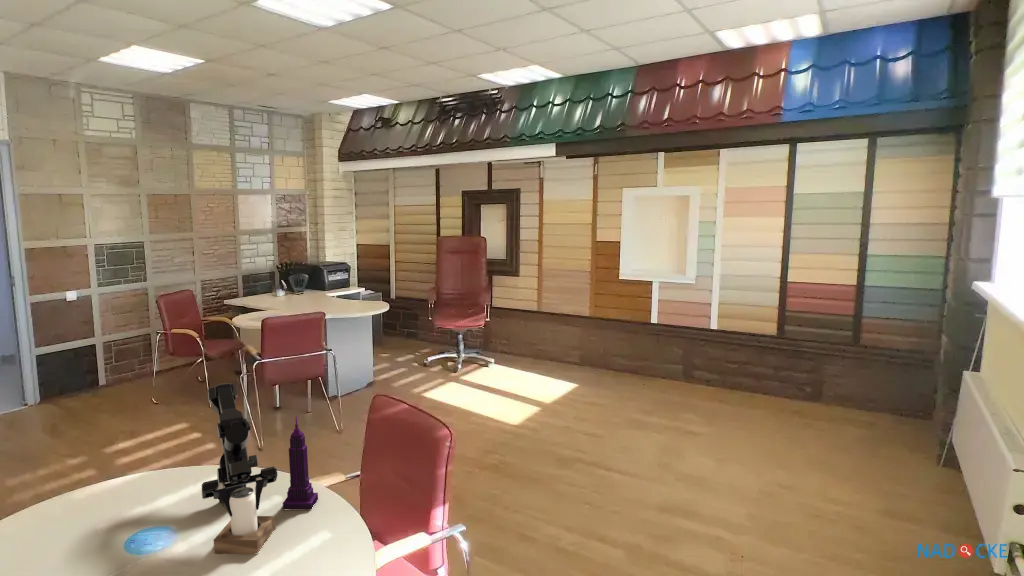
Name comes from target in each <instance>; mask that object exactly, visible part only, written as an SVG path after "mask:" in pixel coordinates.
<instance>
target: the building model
mask: <svg viewBox="0 0 1024 576" xmlns="http://www.w3.org/2000/svg"><path fill="white" fill-rule="evenodd" d="M294 427H295V428H294V429H293V432H292V433H291V434H290V438H289V448H288V459H289V460H288V461H289V483H290V484H289V487H288V489H287V492H286V494H287V495H286V498H285V499H284V501H283V502H282V510H283V509H312V507H313V505H314V504H315V503H317V502H318V501H319V493H318V492H314V487H313V486H312V484H313V483H312V482H310V477H309V460H308V459H309V457H308V445H307V444H306V438H305V436H306V435H304V432H303V431H302V430H301V428H299V424H298V418H297V417H295V425H294ZM317 500H318V501H317ZM315 505H316V504H315ZM315 505H314V506H315ZM313 508H314V507H313ZM312 510H313V509H312Z"/></svg>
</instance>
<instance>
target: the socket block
mask: <svg viewBox="0 0 1024 576" xmlns="http://www.w3.org/2000/svg"><path fill="white" fill-rule="evenodd" d="M257 523H258V529H257V531H256V532H252V533H250V534H247V535H246V536H240V535H232V531H231V519H230V520H229V521H228V523H227V524H226V525H225V526H224V527H223V528H222V529H221V531H220V532H219V533H218V534H217V535H216V536H215V537H214V538H213V550H214V552H213V553H214V554H215V555H219V554H220V555H225V554H226V555H255V554H254V553H258V552H259V551H261V550H262V549H263V547H264V546H265V545H264V543H265V542H266V541H267V542H268V540H269V539H270V538H269V537H271V536H272V535H271V534H273V533H274V532H275V531H276V516H275V515H257ZM274 530H275V531H274ZM273 531H274V532H273ZM272 532H273V533H272ZM270 535H271V536H270ZM268 538H269V539H268ZM267 539H268V540H267ZM267 542H266V543H267ZM266 543H265V544H266ZM263 545H264V546H263ZM262 546H263V547H262ZM261 548H262V549H261ZM260 549H261V550H260ZM259 553H260V552H259ZM259 553H258V554H259Z"/></svg>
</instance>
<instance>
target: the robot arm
mask: <svg viewBox="0 0 1024 576" xmlns="http://www.w3.org/2000/svg"><path fill="white" fill-rule="evenodd" d="M238 397H239V393H238V385H237V384H235V383H230V382H224V383H219V384H216V385H214V386H211V387H210V388H208V389H207V400H208V403H210V405H211V409H212V411H214V412H215V413H216V414H217V416H218V422H217V423H216V431H217V436H218V439H221V440H220V441H221V446H222V455H221V457H220V459H219V464H218V465H219V467H218V468H217V471H216V476H217V478H216V479H212V480H207V481H204V482H202V484H201V496H202V499H203V500H204V499H209V498H213V499H214V500H218V502H219V503H221V504H222V506H223V507H224V509H225V511H226V512H227V514H228V516H230V517H232V512H231V509H230V504H229V500H230V497H231V493H232V492H233V491H234V490H236V489H239V488H243V487H247V485H248V484H252V483H255V487H254V489H255V492H254V493H255V496H256V509H257V511H258V510H260V509H259V508H260V502H261V496H262V492H263V489H264V488H266V487H267V486H268V484H272V483H274V482H276V481H277V480H278V479H277V478H278V469H277V467H276V466H269V467H265V468H261V469H260V472H259V473H257V474H253V475H252V472H253V471H252V468H256V467H258V465H259V463H258V457H257V454H253V455H248V450H247V444H248V438H249V432H250V431H251V425H250V423H249V421H248V420H247V417H244V416H243V415H244V414H243V412H242V411H241V410H239V409H237V405H236V398H238Z"/></svg>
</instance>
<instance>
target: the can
mask: <svg viewBox="0 0 1024 576" xmlns="http://www.w3.org/2000/svg"><path fill="white" fill-rule="evenodd" d="M229 504H230V509H231V512H232V517H230V520H231V531H232V535H240V536H246V535H247V534H250V533H252V532H256V531H257V529H258V523H257V516H258V512H257V511H258V510H257V508H256V494H255V492H254V488H252V487H250V486H249V487H248V486H246V487H243V488H239V489H236V490H234V491H233V492H232V493H231V497H230V500H229Z"/></svg>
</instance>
